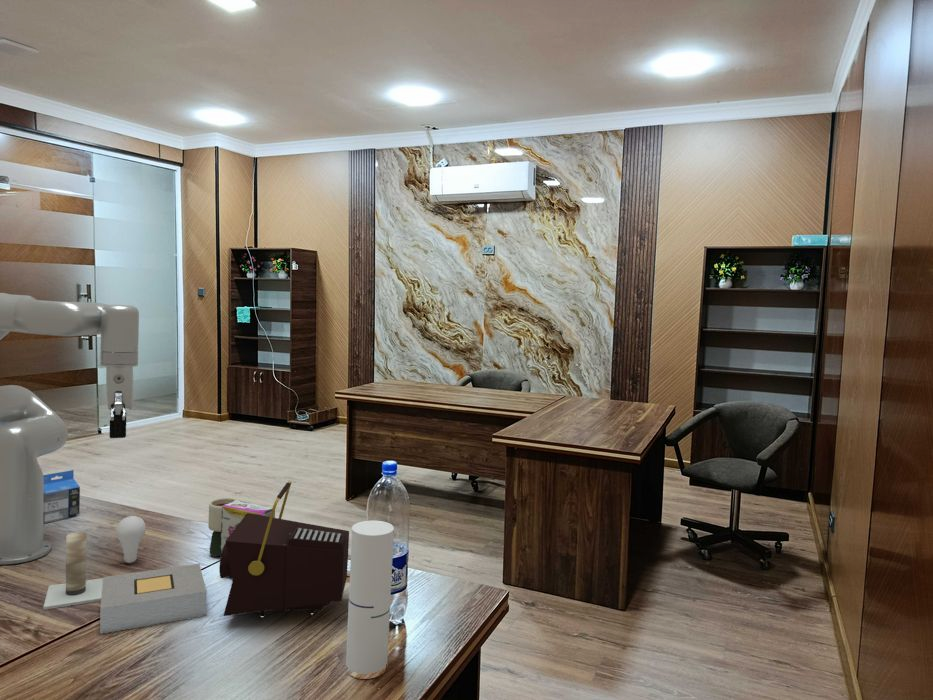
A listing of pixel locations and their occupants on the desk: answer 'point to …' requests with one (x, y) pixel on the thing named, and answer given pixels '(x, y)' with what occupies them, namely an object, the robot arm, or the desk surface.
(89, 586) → the mat
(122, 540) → the lightbulb
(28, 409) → the robot arm
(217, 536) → the character mug
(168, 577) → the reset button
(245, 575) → the dark brown boxy piece
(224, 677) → the desk surface
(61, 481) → the ink cartridge box
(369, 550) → the cylindrical container
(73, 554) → the beige cylinder
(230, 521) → the candy bar box
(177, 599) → the breaker box
